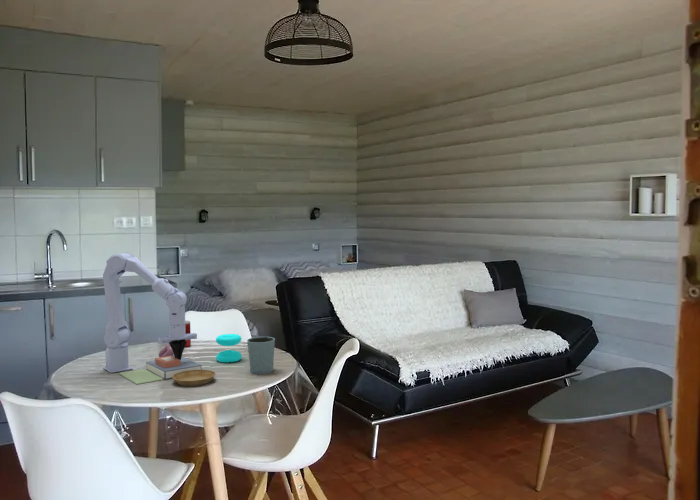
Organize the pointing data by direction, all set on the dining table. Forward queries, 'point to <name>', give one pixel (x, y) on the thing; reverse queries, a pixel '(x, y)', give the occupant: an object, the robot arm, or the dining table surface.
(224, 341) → the donuts
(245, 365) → the dining table surface
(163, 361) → the card box
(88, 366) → the dining table surface
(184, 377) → the plant saucer
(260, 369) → the grey plant pot
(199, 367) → the book deck
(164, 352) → the pink rounded piece
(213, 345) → the dining table surface
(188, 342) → the canned food
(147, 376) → the felt mat
